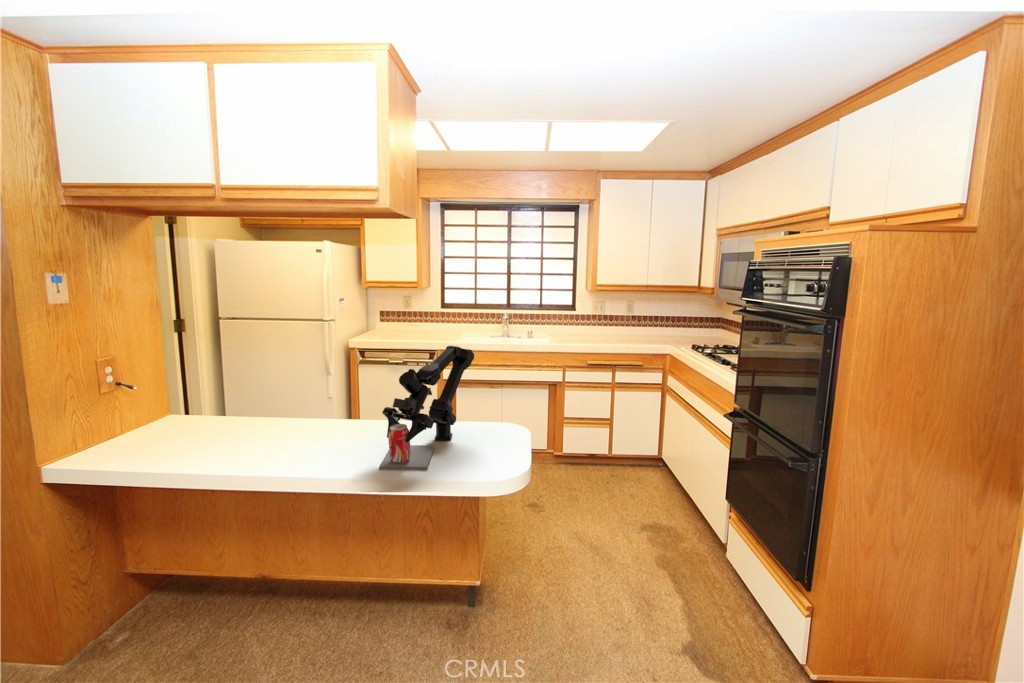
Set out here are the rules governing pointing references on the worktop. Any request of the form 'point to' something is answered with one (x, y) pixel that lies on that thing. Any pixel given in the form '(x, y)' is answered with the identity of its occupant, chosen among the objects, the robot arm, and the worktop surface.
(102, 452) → the worktop surface
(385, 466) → the charcoal mat
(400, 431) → the soda can
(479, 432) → the worktop surface
